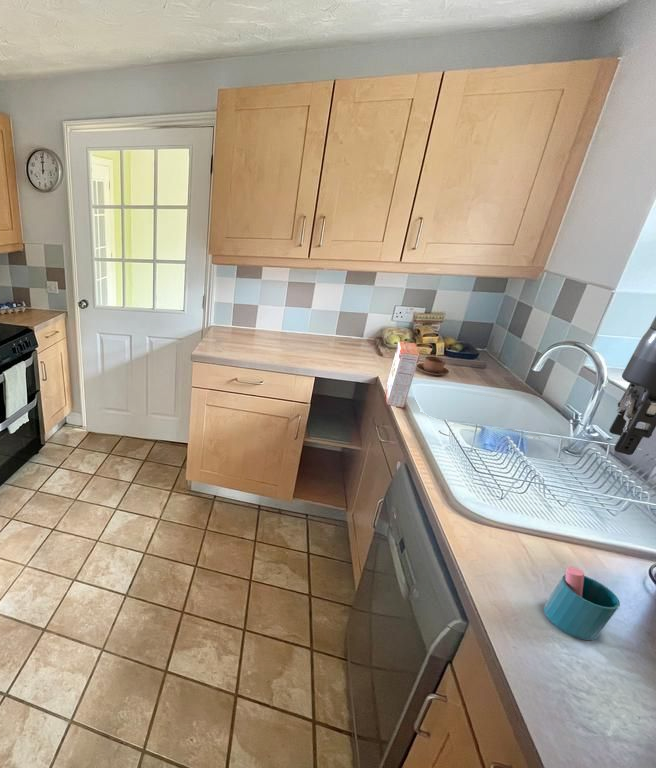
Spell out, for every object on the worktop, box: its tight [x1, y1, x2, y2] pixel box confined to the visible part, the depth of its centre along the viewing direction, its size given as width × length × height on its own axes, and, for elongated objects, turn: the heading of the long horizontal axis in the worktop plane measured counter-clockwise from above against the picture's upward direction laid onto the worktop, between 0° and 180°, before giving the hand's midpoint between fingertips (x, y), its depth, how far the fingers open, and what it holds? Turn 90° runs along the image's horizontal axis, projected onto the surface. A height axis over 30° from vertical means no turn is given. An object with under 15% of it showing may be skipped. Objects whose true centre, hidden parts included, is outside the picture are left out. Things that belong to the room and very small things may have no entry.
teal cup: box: [543, 573, 621, 641], centre depth 73 cm, size 7×7×8 cm
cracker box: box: [385, 341, 420, 409], centre depth 152 cm, size 14×6×21 cm, turn 154°
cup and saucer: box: [416, 356, 450, 376], centre depth 180 cm, size 12×12×6 cm
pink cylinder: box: [565, 566, 585, 597], centre depth 73 cm, size 2×2×10 cm
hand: (619, 442), depth 74 cm, fingers open, 8 cm apart
